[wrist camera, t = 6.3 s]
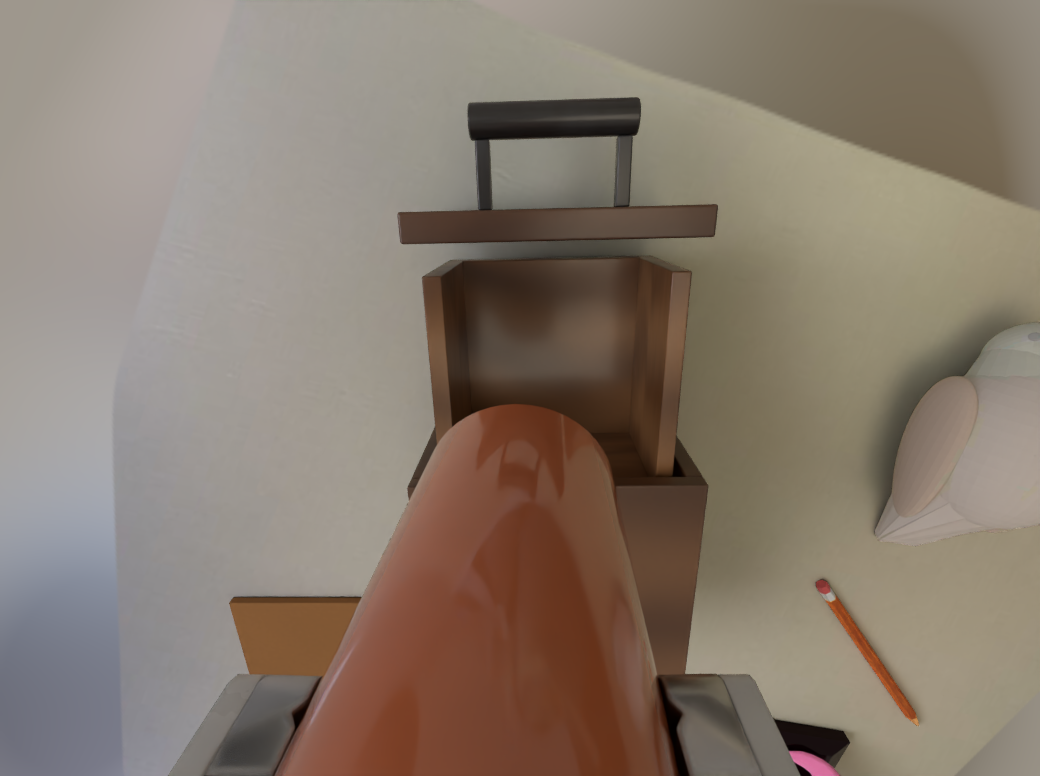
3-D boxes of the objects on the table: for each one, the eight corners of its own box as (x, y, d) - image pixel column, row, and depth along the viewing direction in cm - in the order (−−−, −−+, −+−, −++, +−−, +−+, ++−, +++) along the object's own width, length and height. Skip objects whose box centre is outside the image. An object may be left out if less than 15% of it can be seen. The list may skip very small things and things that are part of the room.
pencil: (823, 577, 35) (829, 584, 34) (920, 720, 40) (927, 729, 39) (813, 583, 35) (818, 590, 35) (911, 724, 40) (917, 733, 39)
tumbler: (433, 567, 16) (208, 1244, 5) (413, 400, 14) (-8, 981, 3) (614, 569, 15) (739, 1311, 5) (621, 398, 13) (849, 1051, 3)
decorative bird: (1075, 319, 28) (1255, 356, 21) (959, 546, 34) (1072, 634, 27) (926, 302, 28) (1057, 333, 21) (834, 532, 34) (914, 617, 27)
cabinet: (443, 407, 31) (406, 487, 22) (657, 404, 31) (709, 485, 22) (458, 589, 36) (433, 715, 27) (642, 589, 36) (680, 717, 27)
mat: (265, 709, 41) (261, 716, 40) (233, 597, 37) (228, 603, 36) (406, 711, 41) (404, 718, 40) (390, 597, 37) (387, 602, 36)
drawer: (427, 124, 25) (383, 88, 18) (672, 117, 24) (733, 76, 17) (452, 438, 31) (427, 508, 24) (649, 436, 30) (686, 507, 23)
